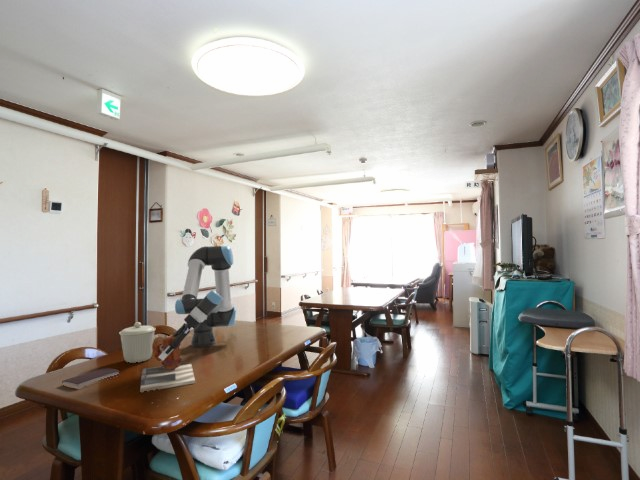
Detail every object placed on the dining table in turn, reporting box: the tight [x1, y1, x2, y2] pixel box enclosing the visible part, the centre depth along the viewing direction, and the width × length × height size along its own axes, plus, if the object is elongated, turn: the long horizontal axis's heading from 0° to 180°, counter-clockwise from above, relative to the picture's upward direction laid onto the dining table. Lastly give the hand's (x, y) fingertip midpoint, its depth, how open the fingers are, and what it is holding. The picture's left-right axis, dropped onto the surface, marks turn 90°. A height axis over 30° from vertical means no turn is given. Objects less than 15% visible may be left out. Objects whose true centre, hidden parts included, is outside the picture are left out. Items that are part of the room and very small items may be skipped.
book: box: [61, 367, 120, 387], centre depth 164 cm, size 12×19×3 cm, turn 153°
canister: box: [118, 321, 156, 364], centre depth 193 cm, size 18×18×21 cm
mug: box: [152, 336, 183, 370], centre depth 164 cm, size 15×8×15 cm, turn 73°
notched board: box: [139, 363, 196, 393], centre depth 164 cm, size 26×22×4 cm
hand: (160, 355), depth 162 cm, fingers closed on mug, 10 cm apart
